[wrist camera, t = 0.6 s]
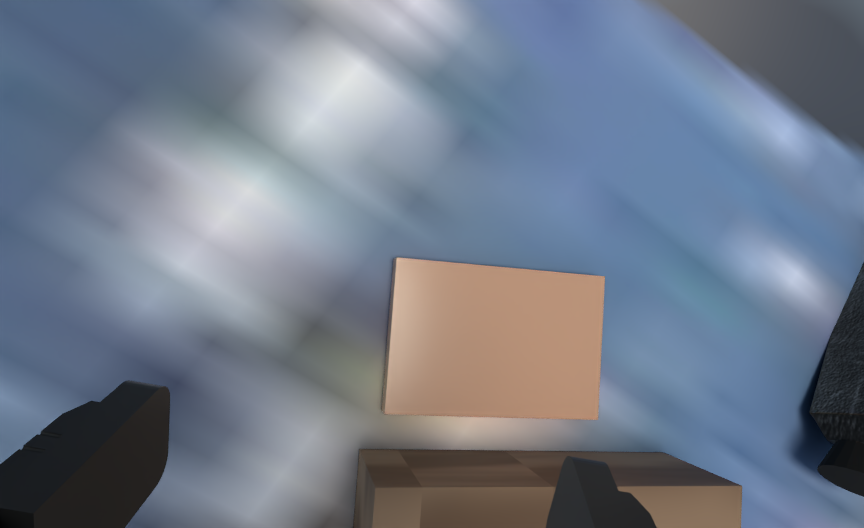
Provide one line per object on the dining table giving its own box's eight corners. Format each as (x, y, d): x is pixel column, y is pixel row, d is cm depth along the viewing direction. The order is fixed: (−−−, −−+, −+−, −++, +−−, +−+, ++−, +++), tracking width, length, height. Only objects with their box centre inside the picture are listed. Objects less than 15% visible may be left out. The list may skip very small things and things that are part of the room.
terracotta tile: (393, 258, 30) (396, 257, 29) (595, 277, 33) (604, 276, 32) (381, 410, 29) (384, 414, 28) (588, 415, 32) (597, 419, 31)
